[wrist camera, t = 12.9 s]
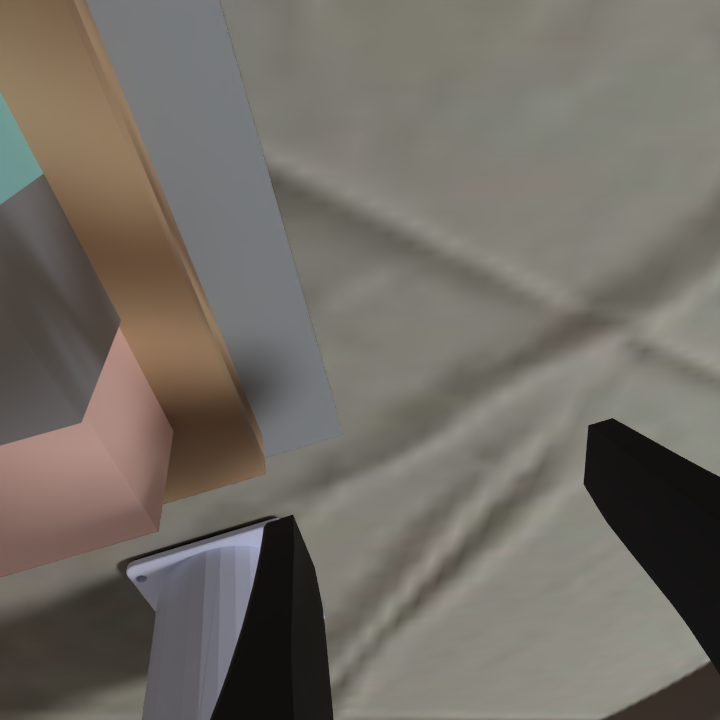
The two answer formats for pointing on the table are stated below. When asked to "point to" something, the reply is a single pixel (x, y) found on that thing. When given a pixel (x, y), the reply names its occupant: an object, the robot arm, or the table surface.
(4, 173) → the block
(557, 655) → the table surface
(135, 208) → the pallet
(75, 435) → the crate rose
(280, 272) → the grey flat block
